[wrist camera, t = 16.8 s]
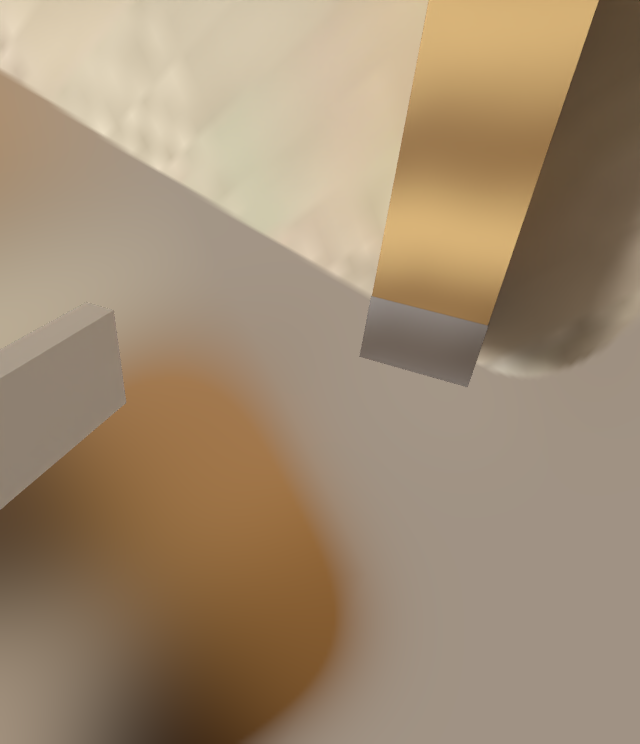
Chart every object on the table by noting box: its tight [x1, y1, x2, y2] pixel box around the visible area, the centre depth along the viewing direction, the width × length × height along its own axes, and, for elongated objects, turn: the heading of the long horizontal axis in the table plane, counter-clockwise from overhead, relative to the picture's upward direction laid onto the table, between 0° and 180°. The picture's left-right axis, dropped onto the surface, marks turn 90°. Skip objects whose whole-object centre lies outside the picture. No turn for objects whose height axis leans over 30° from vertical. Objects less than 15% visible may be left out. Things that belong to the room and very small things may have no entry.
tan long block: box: [360, 0, 599, 387], centre depth 18 cm, size 18×5×5 cm, turn 173°
